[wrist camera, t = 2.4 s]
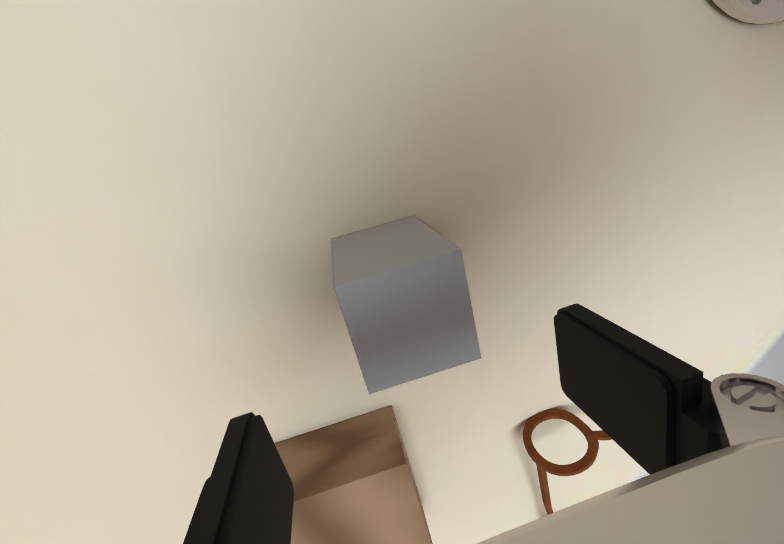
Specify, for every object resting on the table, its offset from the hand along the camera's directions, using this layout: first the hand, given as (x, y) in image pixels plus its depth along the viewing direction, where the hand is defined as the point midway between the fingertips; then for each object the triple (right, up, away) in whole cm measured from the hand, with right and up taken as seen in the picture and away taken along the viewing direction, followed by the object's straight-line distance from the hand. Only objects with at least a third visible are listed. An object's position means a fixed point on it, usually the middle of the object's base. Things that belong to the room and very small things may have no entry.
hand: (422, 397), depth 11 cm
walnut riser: (-5, -11, +16) cm, 20 cm away
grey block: (-1, +4, +11) cm, 12 cm away
